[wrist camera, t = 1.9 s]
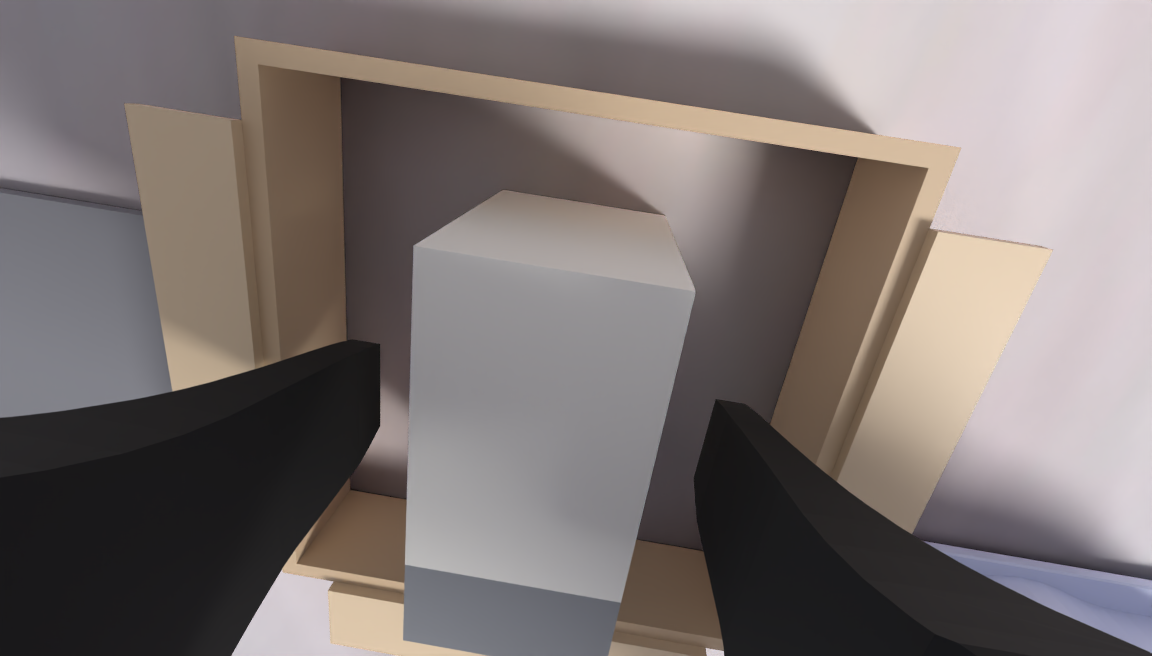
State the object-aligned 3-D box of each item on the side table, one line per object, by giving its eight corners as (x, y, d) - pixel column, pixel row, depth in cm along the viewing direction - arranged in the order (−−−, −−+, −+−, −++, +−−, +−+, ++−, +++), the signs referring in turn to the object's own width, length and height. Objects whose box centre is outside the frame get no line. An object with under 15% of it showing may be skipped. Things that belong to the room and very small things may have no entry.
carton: (973, 153, 12) (1093, 167, 9) (781, 623, 17) (814, 730, 14) (237, 40, 12) (109, 16, 9) (281, 535, 18) (211, 621, 15)
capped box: (664, 215, 13) (695, 291, 7) (610, 480, 16) (603, 676, 10) (502, 189, 13) (413, 245, 7) (479, 458, 16) (402, 640, 11)
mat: (250, 228, 14) (240, 231, 14) (280, 548, 18) (272, 557, 18) (-80, 174, 14) (-98, 176, 14) (24, 502, 18) (12, 510, 18)
